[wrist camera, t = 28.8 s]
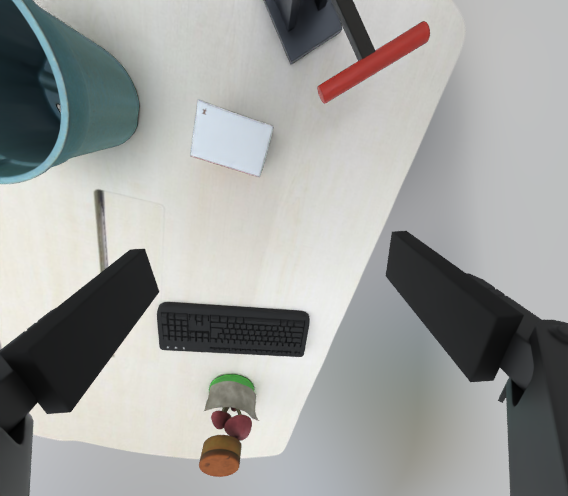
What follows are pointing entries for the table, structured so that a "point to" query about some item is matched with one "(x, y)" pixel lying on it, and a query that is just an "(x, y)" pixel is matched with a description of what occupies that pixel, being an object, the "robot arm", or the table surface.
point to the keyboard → (232, 329)
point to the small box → (230, 139)
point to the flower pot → (56, 94)
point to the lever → (367, 51)
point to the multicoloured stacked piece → (228, 424)
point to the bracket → (303, 24)
